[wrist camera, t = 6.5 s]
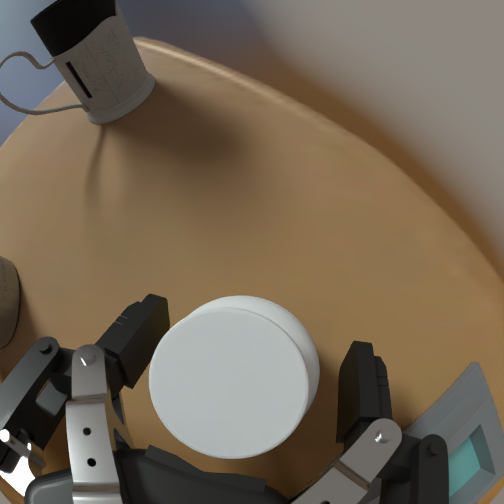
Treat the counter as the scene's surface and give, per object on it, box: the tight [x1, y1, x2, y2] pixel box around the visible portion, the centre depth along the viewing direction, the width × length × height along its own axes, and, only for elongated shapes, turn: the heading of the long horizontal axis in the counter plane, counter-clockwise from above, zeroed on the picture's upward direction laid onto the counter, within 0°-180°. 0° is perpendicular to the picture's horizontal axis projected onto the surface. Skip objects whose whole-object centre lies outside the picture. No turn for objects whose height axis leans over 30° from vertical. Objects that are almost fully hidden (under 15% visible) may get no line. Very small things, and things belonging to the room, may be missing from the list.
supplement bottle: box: [149, 296, 320, 459], centre depth 10 cm, size 5×5×10 cm
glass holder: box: [0, 0, 155, 124], centre depth 16 cm, size 9×14×15 cm, turn 148°
